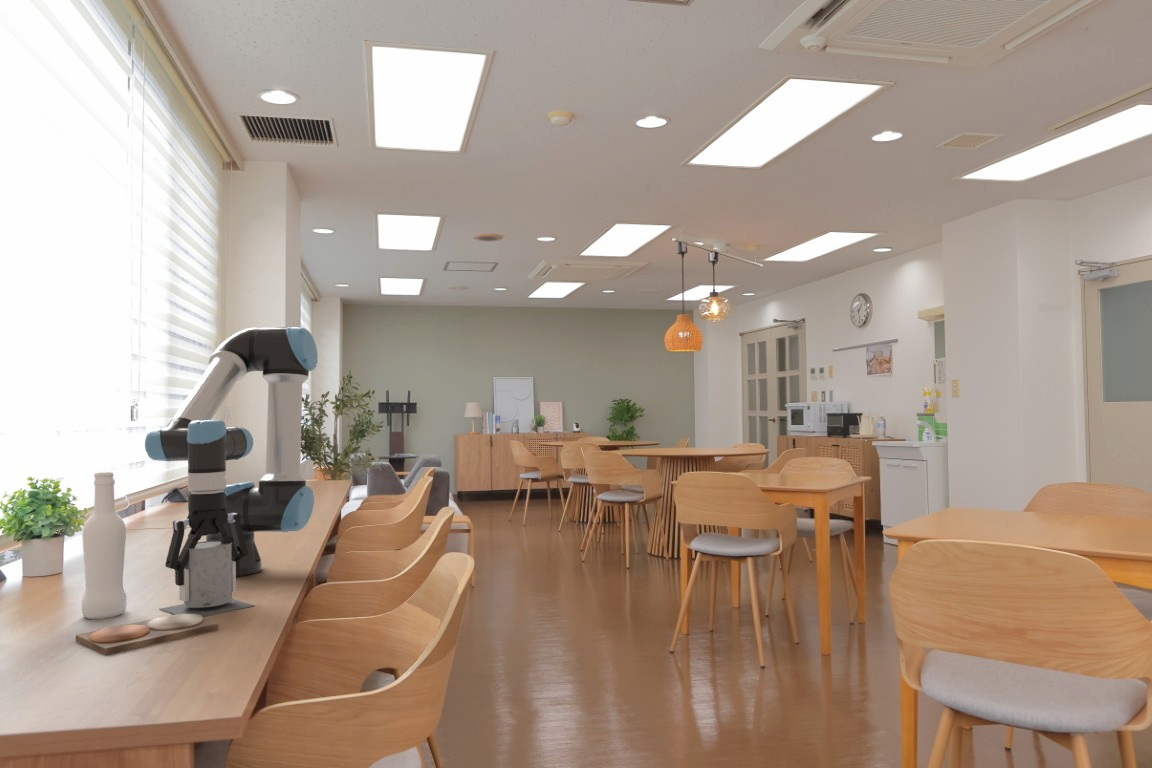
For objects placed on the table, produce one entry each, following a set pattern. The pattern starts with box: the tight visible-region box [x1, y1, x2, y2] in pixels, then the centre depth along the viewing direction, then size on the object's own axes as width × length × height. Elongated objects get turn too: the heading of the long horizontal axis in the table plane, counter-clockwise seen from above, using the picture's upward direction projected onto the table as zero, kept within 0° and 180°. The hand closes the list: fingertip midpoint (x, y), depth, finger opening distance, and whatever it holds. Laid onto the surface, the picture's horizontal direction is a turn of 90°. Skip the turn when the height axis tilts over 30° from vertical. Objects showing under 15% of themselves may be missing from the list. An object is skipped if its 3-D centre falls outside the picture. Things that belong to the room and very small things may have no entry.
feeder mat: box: [159, 598, 256, 618], centre depth 173 cm, size 14×14×1 cm
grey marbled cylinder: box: [183, 541, 233, 608], centre depth 173 cm, size 10×10×12 cm
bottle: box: [81, 470, 127, 620], centre depth 168 cm, size 8×8×30 cm
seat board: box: [75, 613, 219, 656], centre depth 152 cm, size 20×14×2 cm
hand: (208, 595), depth 173 cm, fingers closed on grey marbled cylinder, 9 cm apart
